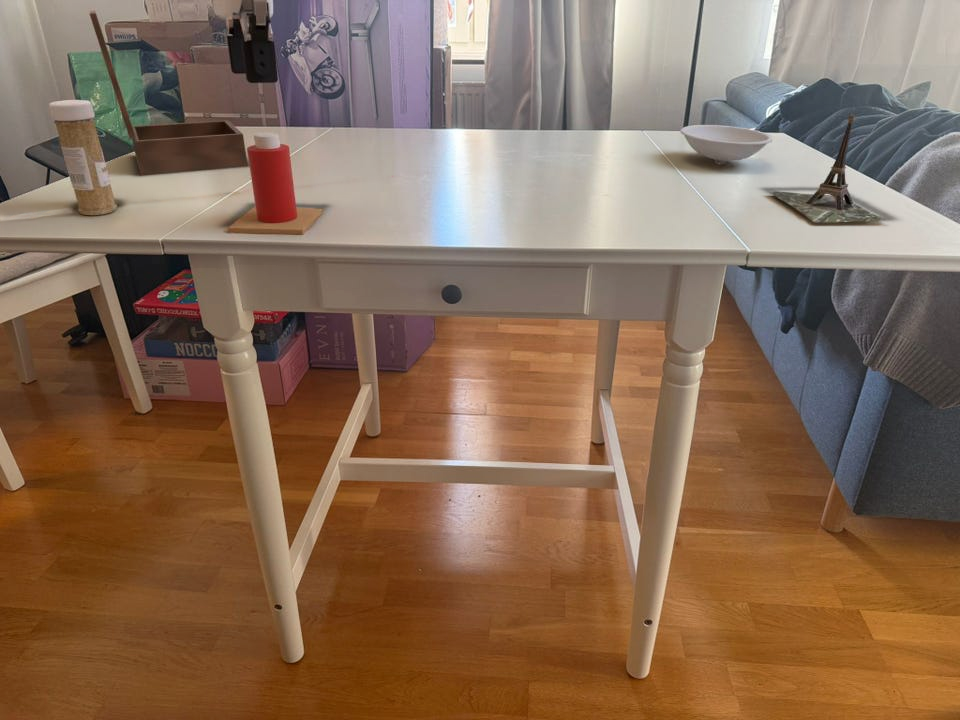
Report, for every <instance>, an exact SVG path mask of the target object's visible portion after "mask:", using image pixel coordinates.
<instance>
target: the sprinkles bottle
mask: <svg viewBox="0 0 960 720" xmlns="http://www.w3.org/2000/svg"><path fill="white" fill-rule="evenodd" d="M48 107H49V112H50V115H51V119H52V120H54V121H53V123H54V124H55V127H56V131H57V134H58V138H59V142H60V148H61V152H62V156H63V158H64V162H65V165H66V169H67V173H68V175H69V180H70V184H71V187H72V189H73V191H74V195H75V199H76V202H77V206H78V209H77V210H78V213H79V214H81V215H84V216H103V215H107V214H111V213H113V212H115V211H116V210H117V209H118V204H117V202H116V200H115V197H114V192H113V188H112V185H111V179H110V175H109V172H108V168H107V164H106V160H105V157H104V156H105V155H104V153H103V148H102V146H101V143H100V139H99V134H98V130H97V126H96V123H95V116H96V115H95V111H94V107H93V104H92V102H91V101H90V100H87V99H86V100H85V99H66V100H57V101H52V102H50V103H49V104H48Z"/></svg>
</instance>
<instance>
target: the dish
mask: <svg viewBox="0 0 960 720" xmlns="http://www.w3.org/2000/svg"><path fill="white" fill-rule="evenodd" d="M680 134H681V135H683V136H684V138H685V140H686V142H687V143H688V145H689V146H690V148H691V149H692V150H694V151H695V152H696V153H697V154H699V155H700V156H703V157H705V158H707V159H710V160H711V159H712V160H714V162H715V164H718V165H725V164H726V163H727V162H733V161H741V160H746V159H748V158H750V157H752V156H754V155H755V154H757V153H758V152H760V151H761V150H762V149H763V148H764V147H766V145H768V144H771V143H772V142H773V139H774V138H773V136H771V135H770V134H768V133H766V132H763V131H759V130H756V129H750V128H747V127H740V126H731V125H722V124H721V125H720V124H694V125H687V126H683V127H682V128H681V129H680Z"/></svg>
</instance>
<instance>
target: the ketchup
mask: <svg viewBox="0 0 960 720" xmlns="http://www.w3.org/2000/svg"><path fill="white" fill-rule="evenodd" d="M253 137H254V144H253V145H250V146H248V147H246V153H247V160H248V166H249V172H250V180H251V185H252V192H253V199H254V205H255V206H254V207H256V213H257V219H258V220H259V221H260V222H264V223H283V222H288V221H292V220H294V219H296V218H297V209H296V208H297V203H296V193H295V186H294V178H293V177H294V176H293V168H292V160H291V159H292V158H291V152H290V146H289V145H288V144H284V143H281V142H280V135H279V133H278V132H275V131H273V132H272V131H265V132H263V131H262V132H258V133H257V132H256V133H254V135H253Z"/></svg>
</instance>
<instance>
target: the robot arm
mask: <svg viewBox="0 0 960 720" xmlns="http://www.w3.org/2000/svg"><path fill="white" fill-rule="evenodd" d="M212 7H213V12H214V14H215V16H217V17H218V18H219V19H222V20H226V21H225V23H226V25H225V27H226V33H227V35H226V42H227V49H228V57H229V64H230V70H231V72H232V73H233V74H235V75H242V74H243V75H245V78H246V81H247V82H248V83H249V84H274V83H277V82H278V81H279V77H278V76H279V75H278V67H277V66H278V65H277V57H276V47H275V41H274V33H273V29H272V25H271V18H272V17H273V15H274V0H212Z"/></svg>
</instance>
